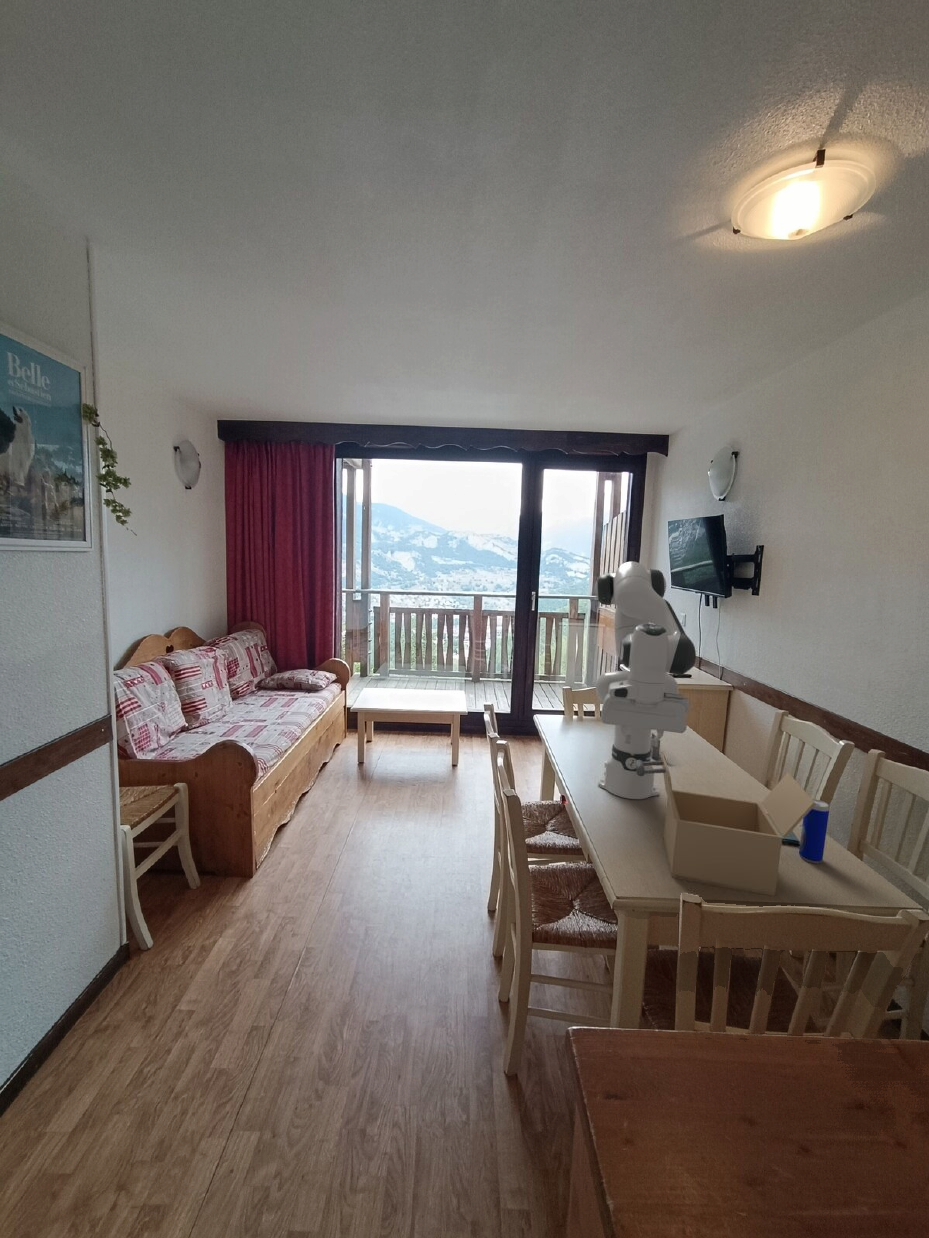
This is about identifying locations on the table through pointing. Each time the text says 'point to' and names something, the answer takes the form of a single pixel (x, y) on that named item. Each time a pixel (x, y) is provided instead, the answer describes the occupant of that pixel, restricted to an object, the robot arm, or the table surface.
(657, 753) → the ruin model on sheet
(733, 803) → the carton
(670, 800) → the flap
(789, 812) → the flap
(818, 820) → the beverage can
